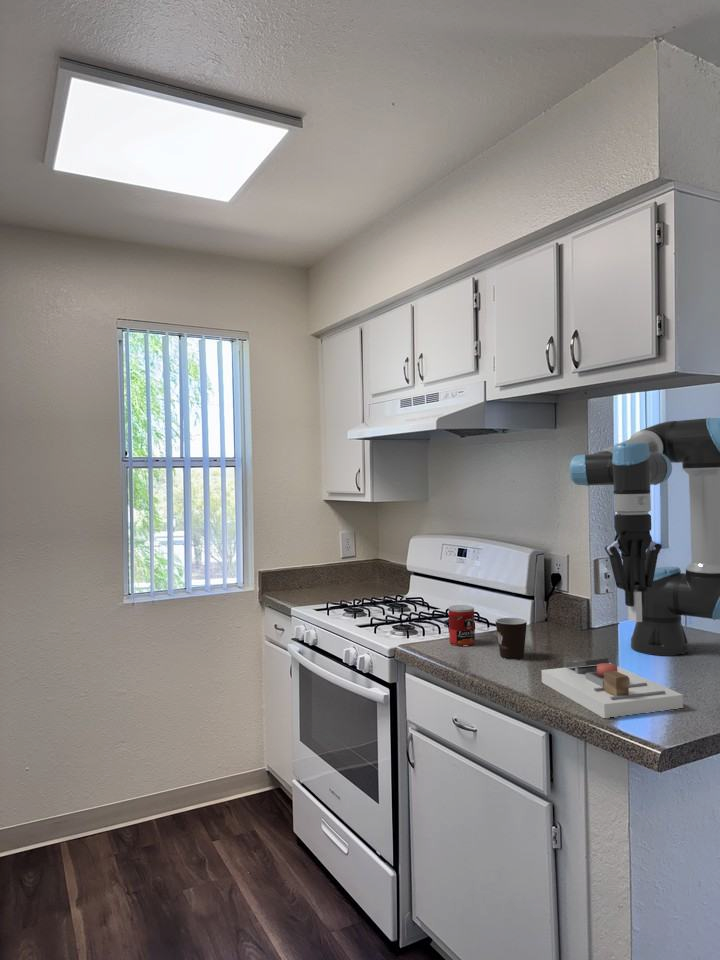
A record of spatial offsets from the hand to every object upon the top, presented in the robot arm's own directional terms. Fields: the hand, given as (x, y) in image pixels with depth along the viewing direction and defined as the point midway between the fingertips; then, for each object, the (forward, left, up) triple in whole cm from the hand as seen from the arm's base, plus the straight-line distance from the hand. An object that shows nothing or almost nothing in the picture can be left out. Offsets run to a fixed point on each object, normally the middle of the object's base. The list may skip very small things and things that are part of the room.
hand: (635, 620), depth 148 cm
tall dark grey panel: (+2, -15, -14) cm, 21 cm away
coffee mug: (+7, -45, -19) cm, 50 cm away
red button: (+2, -7, -14) cm, 16 cm away
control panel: (+2, -7, -18) cm, 20 cm away
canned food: (+15, -62, -19) cm, 67 cm away
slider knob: (+6, +1, -15) cm, 16 cm away
